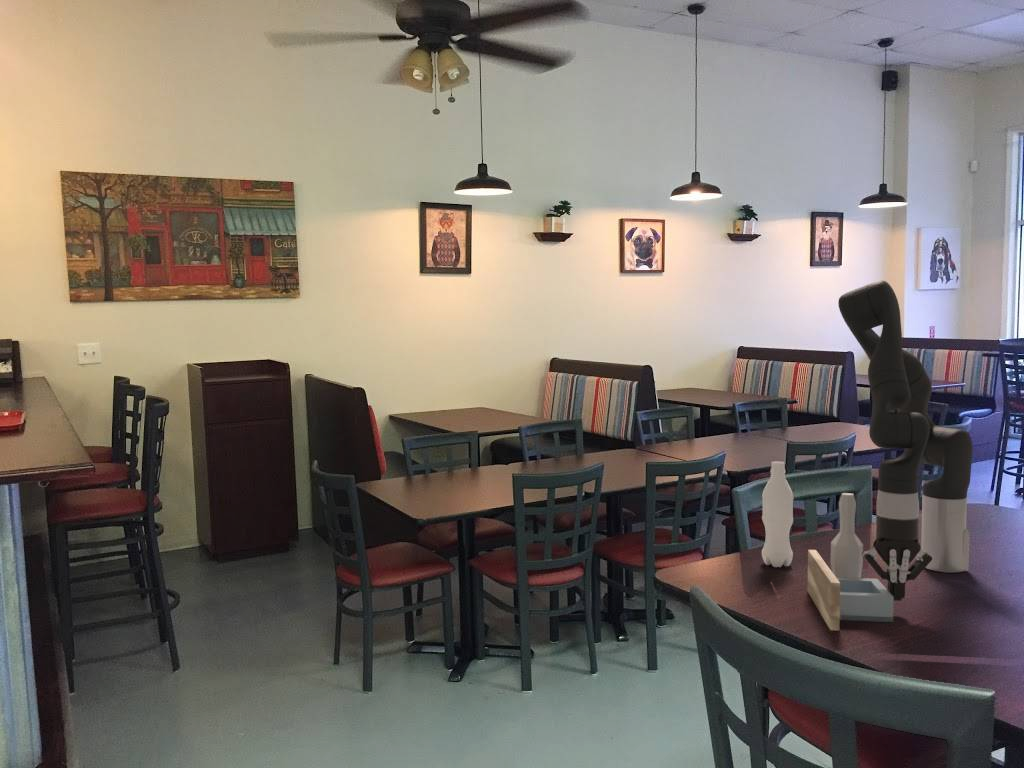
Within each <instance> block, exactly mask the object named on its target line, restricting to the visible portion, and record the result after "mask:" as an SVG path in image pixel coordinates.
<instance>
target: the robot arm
mask: <svg viewBox="0 0 1024 768" xmlns="http://www.w3.org/2000/svg"><path fill="white" fill-rule="evenodd" d="M837 304H838V309H839V312H840V315H841V317H842V318H843V320H844V322H845V324H846V326H847V327H848V330H849V331H850V332H851V333H852V335H853V336H854V338H855V339H856V341H857V342H858V344H859V346H860V347H861V349H862V350H863V351H864V353H865V354H866V356H867V358H868V360H869V364H868V368H867V379H868V383H869V388H870V394H871V399H872V400H871V401H872V410H871V411H872V412H871V418H870V423H869V430H868V431H869V432H868V434H869V439H870V440H871V442H872V443H873V444H874V445H875V446H876V447H878V448H881V449H904V451H903V452H902V454H901V455H900V456H898V457H894V458H890V459H885V460H883V461H881V462H880V463H879V465H878V477H877V478H878V479H877V481H878V483H877V485H878V486H877V487H878V490H877V491H878V492H877V497H876V513H875V515H876V518H875V519H876V520H875V521H876V524H875V539H874V542H873V545H872V547H871V548H870V549H868V550H863V552H862V555H863V559H865V560H866V562H867V563H868V564H869V565H870V566H871V567H872V569H873V570H874V571H875V573H876V574H877V575H878V576H879V577H880V578H881V579H882V580H887V590H888V591H889V592H890V593H891V594H892V596H893V597H894V599H893V602H901V601H902V600H903V599H904V598H905V596H906V593H905V592H906V583H907V582H908V581H911V580H912V581H914V580H915V579H917V577H919V575H921V573H922V572H923V571H924V570H925V569H927V570H930V571H935V572H940V573H950V574H951V573H952V574H953V573H962V572H969V560H970V556H969V555H970V530H968V529H967V512H968V511H967V506H968V505H967V503H968V490H969V488H970V484H971V474H972V463H973V450H974V448H973V447H974V446H973V441H972V437H971V435H970V434H969V432H968V431H966V430H963V429H960V428H953V427H942V426H937V425H936V424H935V423H934V422H933V420H932V418H931V416H930V415H929V412H928V405H929V402H930V400H931V396H932V389H933V386H932V381H931V379H930V377H929V375H928V372H927V371H926V370H925V367H924V366H923V363H922V362H921V361H920V360H919V358H918V357H916V356H915V355H914V354H913V353H911V352H909V351H908V350H905V349H903V336H902V335H903V333H902V332H903V331H902V320H901V309H900V304H899V300H898V297H897V296H896V293H895V291H894V289H893V288H892V286H891V284H890V283H888V282H887V281H886V280H877V281H874V282H872V283H868V284H866V285H863V286H861V287H858V288H855V289H852V290H850V291H847V292H845V293H844V294H842V295H841V296H840V297H839V298H838V303H837ZM880 326H882V329H881V334H880V335H879V334H877V333H876V331H874V330H873V328H874V329H875V328H877V327H880ZM922 462H923V463H925V464H927V465H931V466H937V467H941V468H942V473H941V476H940V477H938V478H936V479H935V478H934V479H930V480H926V481H924V482H923V484H922V497H921V498H922V502H921V506H922V507H921V512H920V501H919V469H920V466H921V463H922ZM920 513H921V539H920V540H921V541H920V542H921V544H920V542H919V530H920V529H919V522H920V521H919V520H920V517H919V516H920ZM877 554H878V556H879V557H880V558H881V559H882V561H883V562H884V564H885V565H884V566H885V570H884V569H883V568H882V567H881V566H880V564H879V563H878V562H877V559H878V556H877ZM914 559H915V560H914ZM913 560H914V561H913ZM912 561H913V563H912ZM911 563H912V564H911ZM909 564H911V565H910V566H909Z"/></svg>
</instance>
